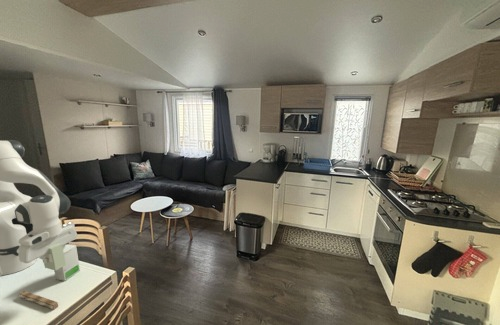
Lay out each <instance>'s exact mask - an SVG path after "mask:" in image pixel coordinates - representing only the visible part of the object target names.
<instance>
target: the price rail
mask: <svg viewBox="0 0 500 325" xmlns="http://www.w3.org/2000/svg"><path fill="white" fill-rule="evenodd" d="M19 297H20V299H23V300H26V301H28V302H30V303H34V304H37V305H40V306H43V307H45V308H48V309H51V310H53V311H54V310H56V309H57V308H58V307H59V304H58V303H59V302H58V301H55V300H52V299H49V298H46V297H44V296H40V295H37V294H34V293H31V292H28V291H26V290H23V291H21V292H19Z"/></svg>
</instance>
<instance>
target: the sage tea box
mask: <svg viewBox="0 0 500 325" xmlns="http://www.w3.org/2000/svg"><path fill="white" fill-rule="evenodd" d="M46 257H47V258H49V260H50V261H49V262H47V263H43V265H44V268H45V269H47V270H48V269H49V270H52V271H54V270H55V271H56V270H58V269H59V268H61V267H63V266H65V265H66V263H65V258H64V252H63V247H62V244H61V243H58V244H56V245H54V246H52V247H50V248H49V253H47V254H45V257H44V258H46Z"/></svg>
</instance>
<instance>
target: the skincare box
mask: <svg viewBox="0 0 500 325" xmlns="http://www.w3.org/2000/svg"><path fill="white" fill-rule="evenodd" d="M63 252H64V258H65V263H66V265H65V266H63V267H61V268H59V269H58V270H56V271H55V270H53V271H54V278H55V280H59V281H65V282H66V281H67V280H68V279H70V278H71V277H73V276H74V275H76V274H77V273H79V272H80V271H81V268H80V261H79V256H78V255H79V254H78V249H77V245H75V244H70V243H69V244H68V243H67V244H65V248H64V250H63Z"/></svg>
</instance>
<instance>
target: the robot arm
mask: <svg viewBox="0 0 500 325" xmlns="http://www.w3.org/2000/svg"><path fill="white" fill-rule="evenodd" d="M24 156H25V147H24V146H23V144H22V143H21V142H20V141H19V140H14V139H7V140H0V277H2V276H5V275H10V274H15V273H19V272H21V271H23V270H25V269H27V268H29V267H31V266H32V265H33V264H35V263H36V262H37V259H40V260H42V263H43V264H44V263H47V262H49V261H50V260H49V258H47V257H46V258H44V257H45V254H47V253H49V248H50V247H52V246H54V245H56V244H58V243H61V244H62V247H63V250H64V248H65V245H67V244H68V243H69V244H70V242H73V241H74V240H76V239H77V238H78V233H77V231H76V230H77V229H76V228H75V223H74V222H73V221H72V222H70V221H69V222H66V223H65V224H64V223H63V224H62V223H61V222H62V221H61V219H60V218H59V215H62V214H65V213H67V211H68V210H69V209H70V208H71V205H72V204H71V203H72V202H71V200H70V198H69V197H68V195H66V194H65V193H63V192H61V190H60V189H59V188H58V187H57V186H56V185H55V184H54V183H53V182H52V181H51V180H50V179H49V177H47V175H45V173H43V172H42V171H41V170H40V169H37V168H35V167H32V166H30V165H28V164H27V163H26V162H25V161H24V160H23V159H22V158H23V157H24ZM15 184H28V185H29V184H30V185H33V186H36V187H38V188H39V189H40V190H41V192H42V193H44V194H41V195H37V196H34V197H31V196H30V195H27V194H23V193H22V191H21V192H20V191H19V190H18V189H17V187H16V185H15ZM13 219H16V221H17V222H18V223H22V224H26V225H31V224H32V229H31V231H29V232H28V233H27V229H26V227H25V226H24V225H22V224H14V223H13Z"/></svg>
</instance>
